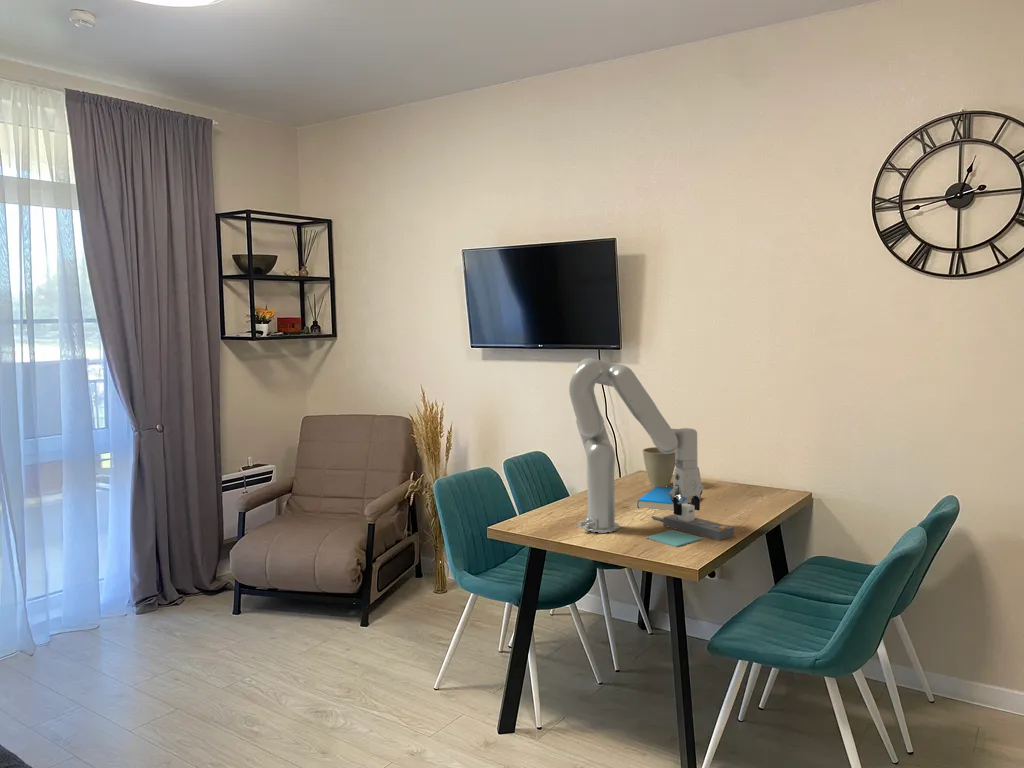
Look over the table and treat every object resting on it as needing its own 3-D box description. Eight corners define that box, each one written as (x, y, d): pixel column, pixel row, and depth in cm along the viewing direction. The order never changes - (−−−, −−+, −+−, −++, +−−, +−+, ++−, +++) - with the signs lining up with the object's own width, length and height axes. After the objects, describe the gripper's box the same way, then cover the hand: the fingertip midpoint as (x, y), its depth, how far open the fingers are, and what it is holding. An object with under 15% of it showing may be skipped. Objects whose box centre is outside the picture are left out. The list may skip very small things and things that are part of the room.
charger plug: (687, 530, 261) (687, 507, 261) (678, 527, 265) (678, 505, 264) (695, 527, 264) (695, 505, 263) (685, 525, 267) (685, 503, 267)
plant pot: (640, 482, 336) (639, 447, 335) (673, 482, 336) (673, 446, 335) (645, 490, 321) (645, 453, 320) (680, 489, 321) (680, 452, 320)
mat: (676, 547, 242) (676, 545, 242) (646, 538, 253) (646, 536, 253) (702, 539, 250) (702, 537, 250) (671, 531, 261) (671, 529, 261)
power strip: (734, 535, 253) (734, 525, 253) (719, 540, 249) (719, 529, 248) (659, 516, 280) (659, 507, 279) (644, 520, 275) (644, 510, 274)
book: (696, 489, 306) (681, 502, 284) (696, 499, 307) (680, 514, 284) (654, 485, 314) (637, 498, 292) (654, 496, 314) (637, 509, 292)
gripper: (678, 469, 254) (678, 518, 256) (710, 461, 265) (711, 509, 266) (661, 466, 260) (662, 514, 262) (693, 459, 271) (694, 505, 272)
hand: (686, 512), depth 264 cm, fingers open, 9 cm apart
